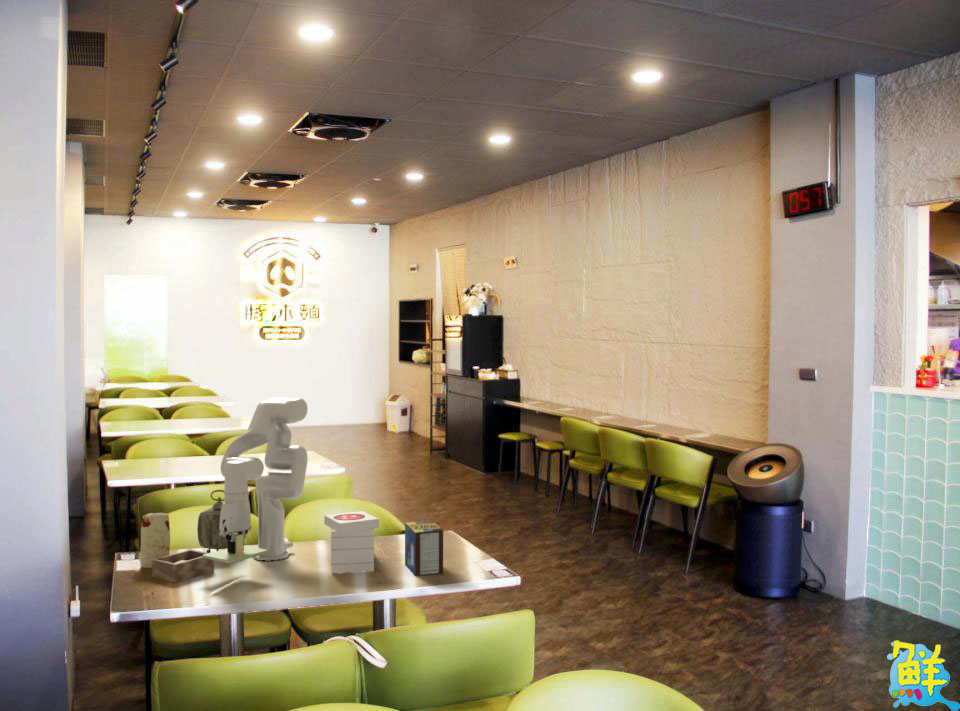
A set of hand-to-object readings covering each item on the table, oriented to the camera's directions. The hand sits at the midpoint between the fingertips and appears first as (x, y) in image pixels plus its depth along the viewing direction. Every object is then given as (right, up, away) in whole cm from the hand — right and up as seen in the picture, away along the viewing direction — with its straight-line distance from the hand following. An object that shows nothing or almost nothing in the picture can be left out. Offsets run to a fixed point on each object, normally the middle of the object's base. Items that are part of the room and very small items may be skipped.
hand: (235, 551), depth 278 cm
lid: (0, -2, 0) cm, 2 cm away
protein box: (+62, -11, +16) cm, 65 cm away
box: (-19, -10, +4) cm, 22 cm away
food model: (-33, -10, +14) cm, 37 cm away
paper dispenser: (+35, -10, +24) cm, 43 cm away
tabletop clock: (-15, -9, +30) cm, 35 cm away
